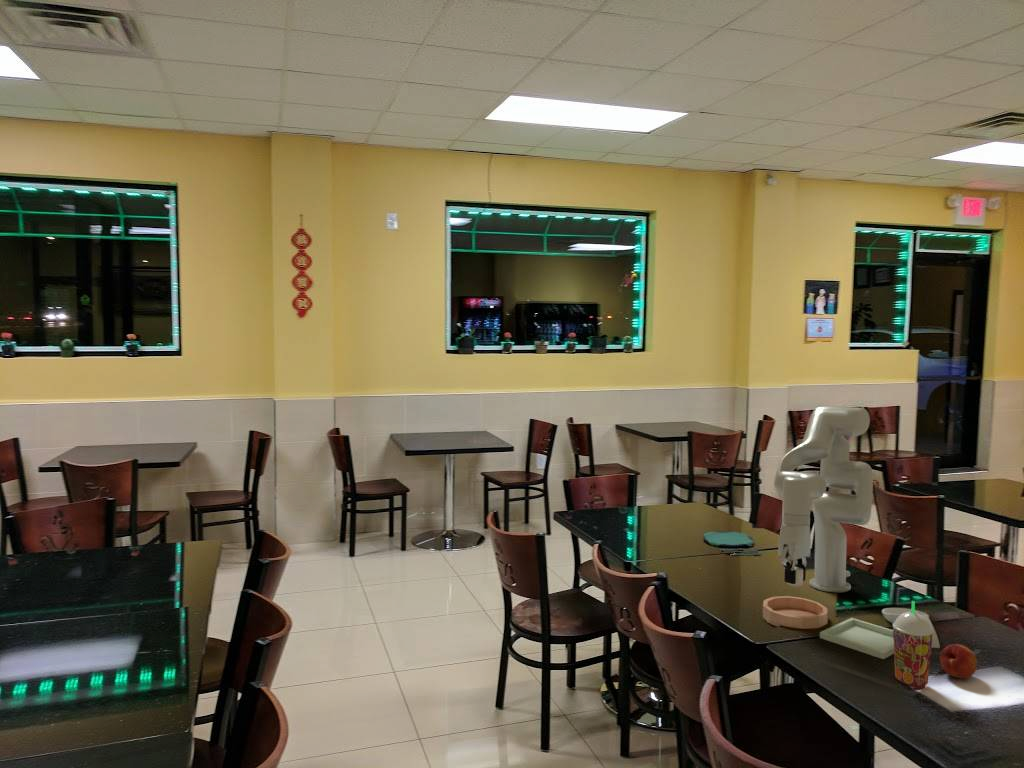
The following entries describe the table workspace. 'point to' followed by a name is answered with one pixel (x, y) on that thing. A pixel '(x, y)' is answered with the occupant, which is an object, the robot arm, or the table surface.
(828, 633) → the tray
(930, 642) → the smoothie
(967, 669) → the fruit
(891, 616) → the spoon rest
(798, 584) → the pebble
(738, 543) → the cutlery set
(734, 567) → the table surface
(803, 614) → the bowl
